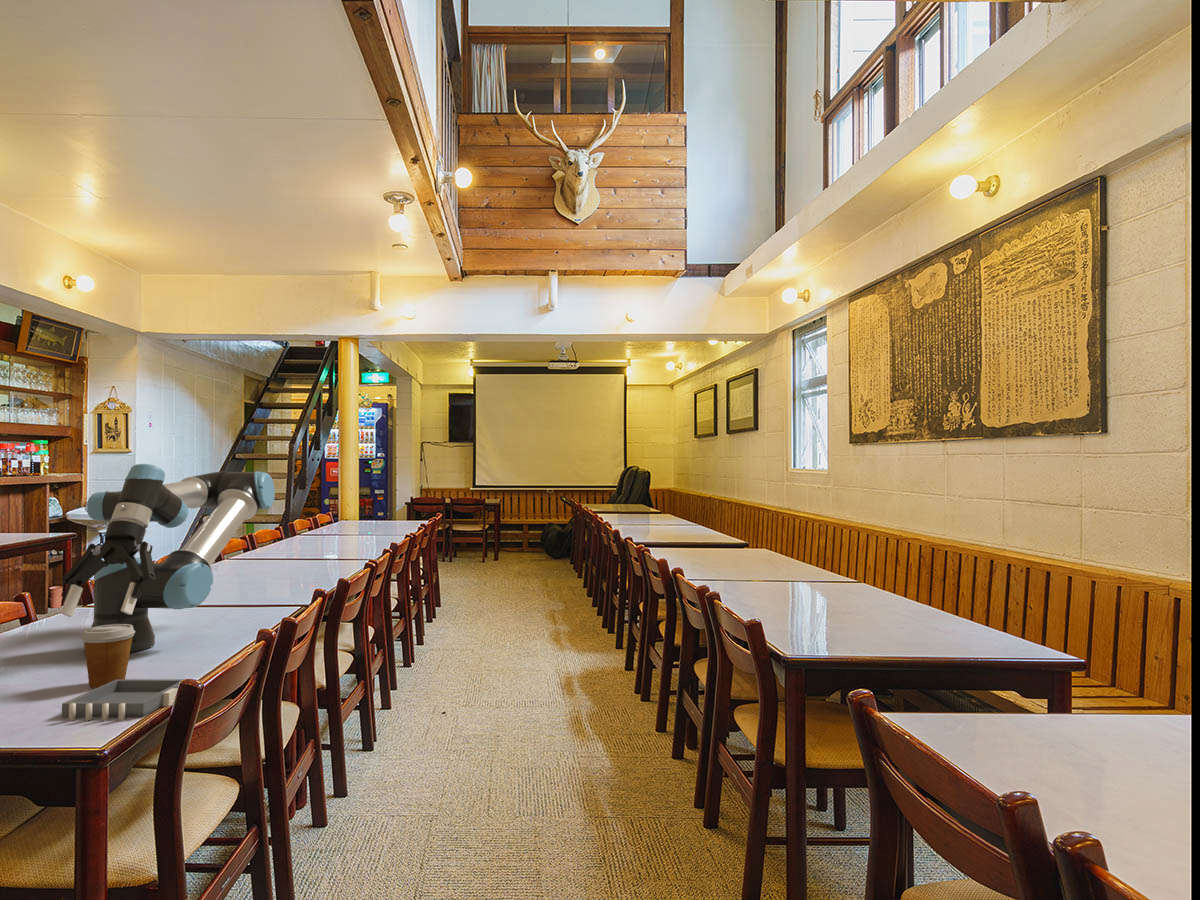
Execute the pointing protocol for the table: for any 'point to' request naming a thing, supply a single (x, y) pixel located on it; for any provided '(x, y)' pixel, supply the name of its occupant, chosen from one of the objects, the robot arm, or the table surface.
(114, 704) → the grey tray
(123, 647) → the disposable coffee cup
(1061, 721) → the table surface
